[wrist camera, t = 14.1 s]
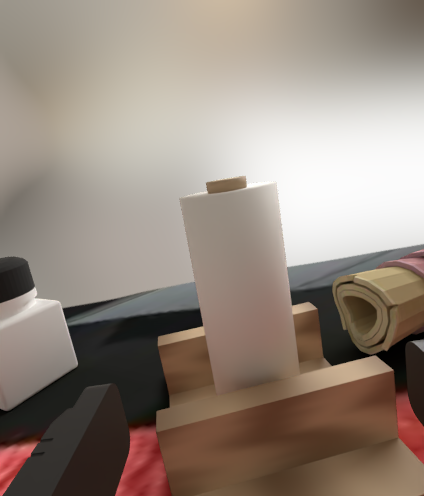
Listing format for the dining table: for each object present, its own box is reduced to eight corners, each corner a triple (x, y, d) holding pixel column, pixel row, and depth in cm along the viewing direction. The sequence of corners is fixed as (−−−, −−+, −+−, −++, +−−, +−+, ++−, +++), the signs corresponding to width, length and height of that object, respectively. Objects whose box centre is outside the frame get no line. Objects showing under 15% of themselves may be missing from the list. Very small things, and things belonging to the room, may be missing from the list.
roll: (285, 372, 25) (258, 172, 22) (319, 424, 20) (290, 169, 16) (213, 391, 24) (174, 187, 21) (229, 449, 19) (180, 189, 16)
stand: (301, 341, 31) (294, 290, 30) (445, 505, 15) (442, 409, 14) (170, 373, 29) (158, 320, 28) (180, 588, 14) (154, 489, 13)
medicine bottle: (40, 355, 38) (8, 252, 35) (80, 366, 34) (46, 250, 31) (-31, 395, 32) (-75, 275, 29) (7, 414, 28) (-42, 276, 25)
